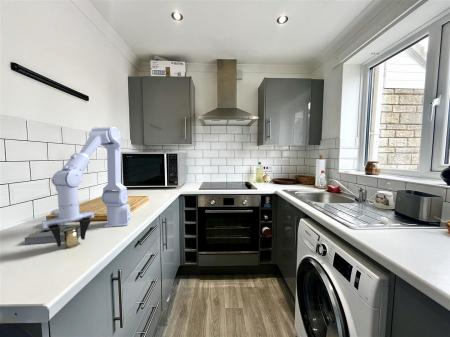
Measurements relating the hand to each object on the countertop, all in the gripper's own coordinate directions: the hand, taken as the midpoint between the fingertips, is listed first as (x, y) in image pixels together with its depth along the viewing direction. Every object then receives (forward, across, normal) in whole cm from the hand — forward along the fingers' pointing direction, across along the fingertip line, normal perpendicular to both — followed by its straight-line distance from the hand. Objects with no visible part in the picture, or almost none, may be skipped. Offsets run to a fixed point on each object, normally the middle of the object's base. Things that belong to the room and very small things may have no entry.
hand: (71, 241), depth 73 cm
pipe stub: (+1, 0, 0) cm, 1 cm away
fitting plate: (+1, +1, -14) cm, 14 cm away
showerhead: (+2, -4, -31) cm, 31 cm away
